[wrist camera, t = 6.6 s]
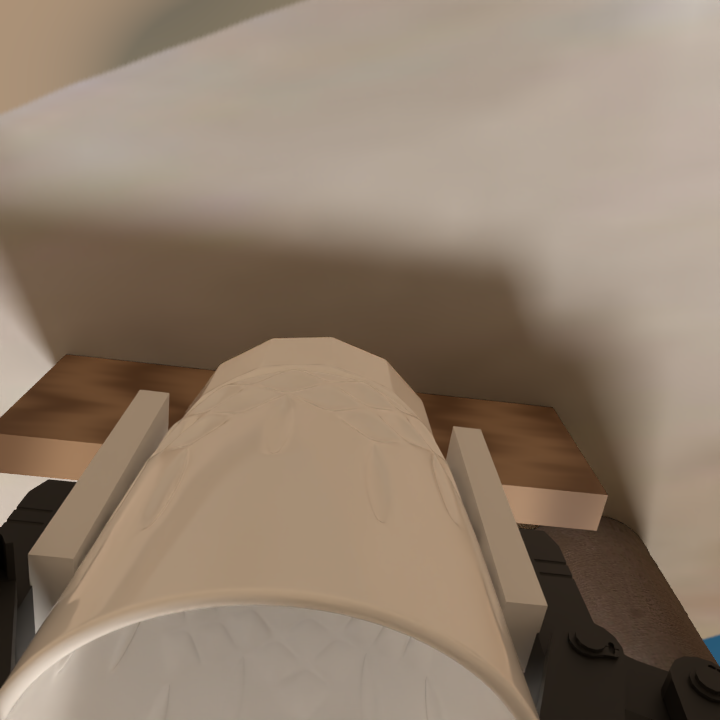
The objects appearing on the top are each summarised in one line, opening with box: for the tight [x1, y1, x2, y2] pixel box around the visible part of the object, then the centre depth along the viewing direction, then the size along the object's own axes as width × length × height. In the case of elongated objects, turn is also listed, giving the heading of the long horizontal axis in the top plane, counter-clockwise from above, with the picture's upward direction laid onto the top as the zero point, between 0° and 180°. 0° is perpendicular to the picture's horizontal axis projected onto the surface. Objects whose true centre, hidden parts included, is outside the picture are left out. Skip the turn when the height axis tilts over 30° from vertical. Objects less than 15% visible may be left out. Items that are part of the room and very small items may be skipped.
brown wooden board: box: [0, 354, 608, 531], centre depth 34 cm, size 28×2×9 cm, turn 83°
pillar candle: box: [534, 516, 719, 671], centre depth 37 cm, size 10×10×15 cm
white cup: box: [0, 337, 540, 720], centre depth 14 cm, size 8×8×10 cm
